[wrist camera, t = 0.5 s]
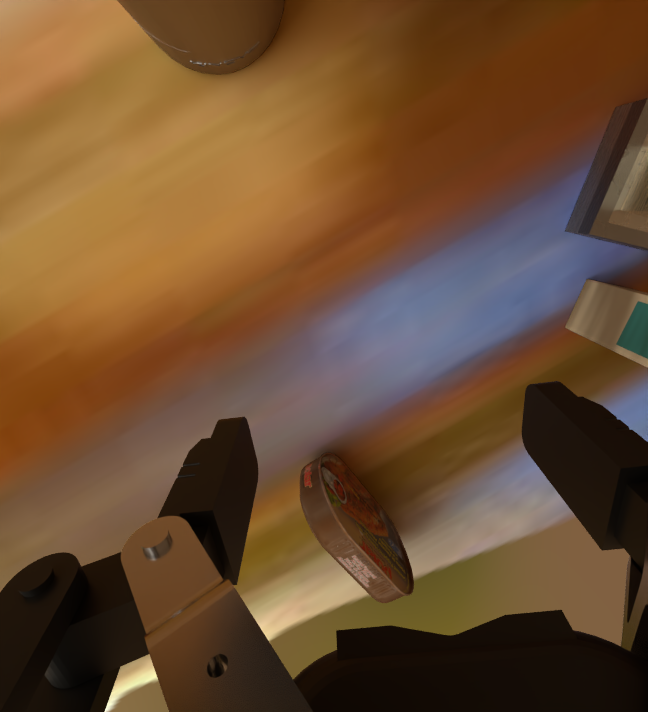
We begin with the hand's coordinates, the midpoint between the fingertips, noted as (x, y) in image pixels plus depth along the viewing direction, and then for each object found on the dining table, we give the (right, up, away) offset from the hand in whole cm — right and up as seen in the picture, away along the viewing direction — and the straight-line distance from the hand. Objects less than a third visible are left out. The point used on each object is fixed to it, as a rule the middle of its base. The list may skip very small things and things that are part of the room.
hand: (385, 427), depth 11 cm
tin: (+1, -11, +27) cm, 30 cm away
